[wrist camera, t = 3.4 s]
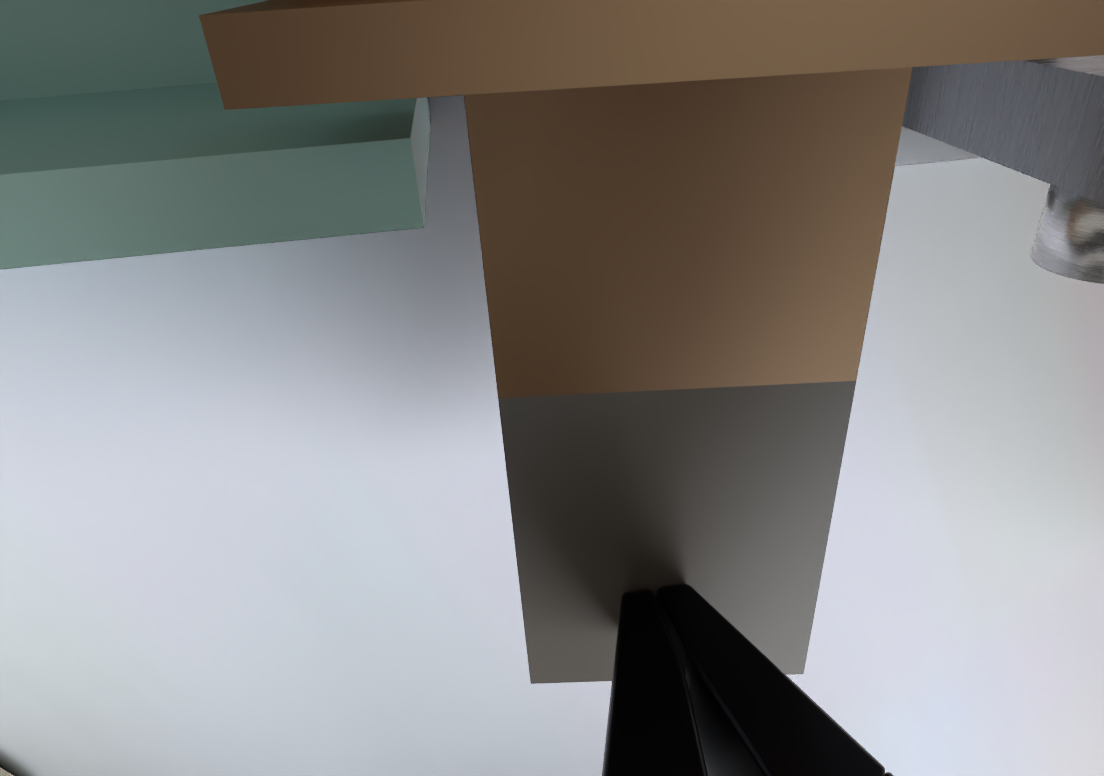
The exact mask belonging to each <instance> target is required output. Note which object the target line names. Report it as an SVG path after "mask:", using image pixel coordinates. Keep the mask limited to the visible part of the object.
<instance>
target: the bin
mask: <svg viewBox="0 0 1104 776" xmlns="http://www.w3.org/2000/svg"><path fill="white" fill-rule="evenodd" d="M263 1H268V0H0V269H10V268H20V267H30V266H40V265H50V264H60V263H71V262H81V261H91V260H101V259H111V258H121V257H131V256H141V255H152V254H162V253H172V252H182V251H192V250H202V249H212V248H223V247H233V246H243V245H253V244H263V243H273V242H283V241H293V240H304V239H314V238H324V237H334V236H344V235H354V234H364V233H374V232H385V231H395V230H405V229H415V228H424V219H425V203H426V187H427V171H428V155H429V139H430V122H431V118H430V111H429V104H428V97H424V98H408V99H392V100H376V101H360V102H344V103H328V104H312V105H296V106H280V107H264V108H248V109H232V110H225V109H224V105H223V102H222V98H221V94H220V91H219V87H218V83H217V80H216V76H215V73H214V69H213V65H212V62H211V58H210V54H209V51H208V47H207V43H206V40H205V36H204V33H203V29H202V25H201V22H200V18H199V15H203V14H207V13H212V12H217V11H221V10H226V9H231V8H235V7H240V6H245V5H249V4H254V3H259V2H263Z"/></svg>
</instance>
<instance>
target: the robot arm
mask: <svg viewBox="0 0 1104 776" xmlns="http://www.w3.org/2000/svg"><path fill="white" fill-rule="evenodd" d="M602 776H893V775H892V774H891V773H889V772H887V773H885V768H884V767H883V766H882V765H881V764H880V763H879V762H878V761H877V760H876V759H875V758H874V757H873V756H872V755H871V754H869V753H868V752H867V751H866V750H865V749H864V748H863V747H862V746H861V745H860V744H859V743H858V742H857V741H856V740H855V739H853V738H852V737H851V736H850V735H849V734H848V733H847V732H846V731H845V730H844V729H843V728H842V727H841V726H840V725H839V724H838V723H836V722H835V721H834V720H833V719H832V718H831V717H830V716H829V715H828V714H827V713H826V712H825V711H824V710H823V709H822V708H820V707H819V706H818V705H817V704H816V703H815V702H814V701H813V700H812V699H811V698H810V697H809V696H808V695H807V694H806V693H804V692H803V691H802V690H801V689H800V688H799V687H798V686H797V685H796V684H795V683H794V682H793V681H792V680H791V679H790V678H788V677H787V676H786V675H785V674H784V673H783V672H782V671H781V670H780V669H779V668H778V667H777V666H776V665H775V664H774V663H773V662H771V661H770V660H769V659H768V658H767V657H766V656H765V655H764V654H763V653H762V652H761V651H760V650H759V649H758V648H757V647H755V646H754V645H753V644H752V643H751V642H750V641H749V640H748V639H747V638H746V637H745V636H744V635H743V634H742V633H741V632H739V631H738V630H737V629H736V628H735V627H734V626H733V625H732V624H731V623H730V622H729V621H728V620H727V619H726V618H725V617H723V616H722V615H721V614H720V613H719V612H718V611H717V610H716V609H715V608H714V607H713V606H712V605H711V604H710V603H709V602H708V601H706V600H705V599H704V598H703V597H702V596H701V595H700V594H699V593H698V592H697V591H696V590H695V589H694V588H693V587H691V586H690V585H688V584H677V585H671V586H664V587H661V588H660V589H659V591H658V598H657V601H656V599H655V596H654V594H653V593H652V592H651V591H650V590H648V589H644V590H637V591H631V592H625V593H624V594H623V595H622V598H621V605H620V614H619V624H618V633H617V642H616V651H615V660H614V670H613V679H612V688H611V697H610V706H609V716H608V725H607V734H606V743H605V752H604V762H603V771H602Z"/></svg>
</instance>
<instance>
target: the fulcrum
mask: <svg viewBox="0 0 1104 776" xmlns="http://www.w3.org/2000/svg"><path fill="white" fill-rule="evenodd" d="M973 158H985V159H988V160H990V161H993V162H995V163H998V164H1000V165H1003V166H1006V167H1008V168H1011V169H1013V170H1016V171H1018V172H1021V173H1024V174H1026V175H1029V176H1031V177H1034V178H1036V179H1039V180H1042V181H1044V182H1047V183H1049V184H1051V185H1050V188H1049V192H1048V195H1047V199H1046V202H1045V205H1044V209H1043V212H1042V216H1041V219H1040V223H1039V226H1038V229H1037V233H1036V236H1035V240H1034V243H1033V246H1032V250H1031V253H1030V257H1031V259H1032V260H1033V261H1034V262H1035V263H1036V264H1037V265H1039V266H1040V267H1042V268H1044V269H1046V270H1048V271H1051V272H1053V273H1056V274H1059V275H1062V276H1065V277H1069V278H1073V279H1077V280H1083V281H1088V282H1095V283H1103V284H1104V55H1098V56H1082V57H1066V58H1050V59H1034V60H1018V61H1002V62H986V63H970V64H954V65H938V66H922V67H913V68H912V73H911V79H910V84H909V90H908V95H907V101H906V106H905V112H904V118H903V123H902V129H901V134H900V140H899V145H898V151H897V156H896V162H895V166H901V165H911V164H921V163H931V162H942V161H952V160H962V159H973Z"/></svg>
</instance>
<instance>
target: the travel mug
mask: <svg viewBox="0 0 1104 776" xmlns="http://www.w3.org/2000/svg"><path fill="white" fill-rule="evenodd" d="M0 776H14V775H12V774H10V773H9V772H7V771H5V770H4V769H2V768H1V767H0Z"/></svg>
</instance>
